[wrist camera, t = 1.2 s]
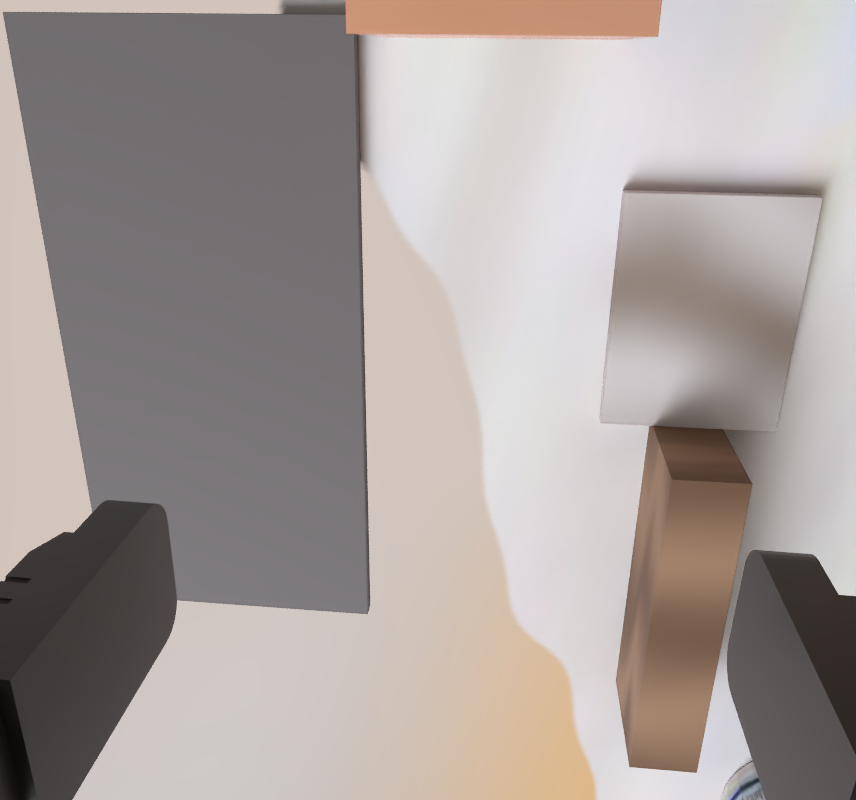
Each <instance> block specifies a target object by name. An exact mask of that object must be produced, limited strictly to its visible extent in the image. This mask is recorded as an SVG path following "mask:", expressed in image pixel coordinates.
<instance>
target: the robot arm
mask: <svg viewBox="0 0 856 800" xmlns="http://www.w3.org/2000/svg"><path fill="white" fill-rule="evenodd" d="M176 606H177V593H176V585H175V576H174V568H173V560H172V552H171V544H170V535H169V527H168V520H167V515H166V512H165V509H164V508H163V506H162V505H160V504H155V503H142V502H129V501H116V500H106V501H104V502H102V503H101V504H100V505H99V506H98V507H97V508H96V509H95V510H94V512H93V513H92V514H91V515H90V516H89V517H88V518H87V519H86V520H85V521H84V522H83V523H82V525H81V526H80V527H79V528H78V529H77V530H76V531H75V532H74V533H70V532H63V533H62V534H60V535H58V536H56V537H55V538H53V539H51V540H50V541H48V542H46V543H44V544H42V545H41V546H39V547H37V548H36V549H34V550H32V551H30V552H29V553H28V554H27V555H26V556H25V557H24V558H23V559H22V560H21V561H20V562H19V563H18V564H17V565H16V566H15V567H14V568H13V569H12V571H10V573H8V574H7V576H6V579H5V581H1V582H0V800H72V799H73V798H74V796H75V794H76V792H77V791H78V789H79V787H80V786H81V784H82V782H83V781H84V779H85V777H86V776H87V774H88V772H89V771H90V769H91V767H92V766H93V764H94V762H95V761H96V759H97V757H98V756H99V754H100V752H101V751H102V749H103V747H104V746H105V744H106V742H107V741H108V739H109V737H110V735H111V734H112V732H113V731H114V729H115V727H116V726H117V724H118V722H119V721H120V719H121V717H122V716H123V714H124V712H125V711H126V709H127V707H128V705H129V704H130V702H131V700H132V699H133V697H134V695H135V694H136V692H137V690H138V689H139V687H140V685H141V684H142V682H143V680H144V679H145V677H146V675H147V673H148V672H149V670H150V669H151V667H152V665H153V664H154V662H155V660H156V659H157V657H158V655H159V654H160V652H161V650H162V649H163V647H164V645H165V644H166V642H167V640H168V638H169V636H170V633H171V631H172V628H173V624H174V620H175V615H176ZM727 672H728V681H729V687H730V691H731V695H732V698H733V701H734V704H735V707H736V710H737V713H738V717H739V720H740V723H741V726H742V729H743V732H744V735H745V738H746V741H747V744H748V747H749V750H750V753H751V756H752V759H753V763H754V766H755V769H756V772H757V775H758V778H759V781H760V784H761V787H762V790H763V793H764V796H765V799H766V800H856V596H845V595H838V593H837V591H836V590H835V588H834V586H833V585H832V583H831V581H830V579H829V578H828V576H827V574H826V573H825V571H824V569H823V567H822V566H821V564H820V562H819V561H818V559H817V558H816V557H815V556H814V555H812V554H800V553H787V552H773V551H760V550H753V551H751V553H750V554H749V556H748V557H747V560H746V563H745V567H744V572H743V577H742V582H741V586H740V591H739V596H738V601H737V605H736V610H735V615H734V619H733V624H732V629H731V634H730V638H729V644H728V652H727Z"/></svg>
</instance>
